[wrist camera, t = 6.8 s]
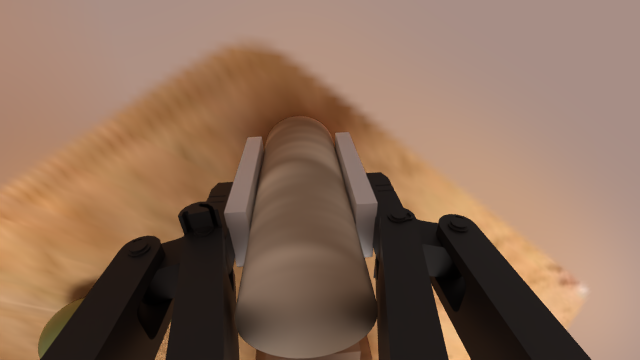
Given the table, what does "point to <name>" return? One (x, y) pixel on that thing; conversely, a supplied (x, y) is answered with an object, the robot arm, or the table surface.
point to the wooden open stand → (364, 344)
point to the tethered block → (304, 254)
